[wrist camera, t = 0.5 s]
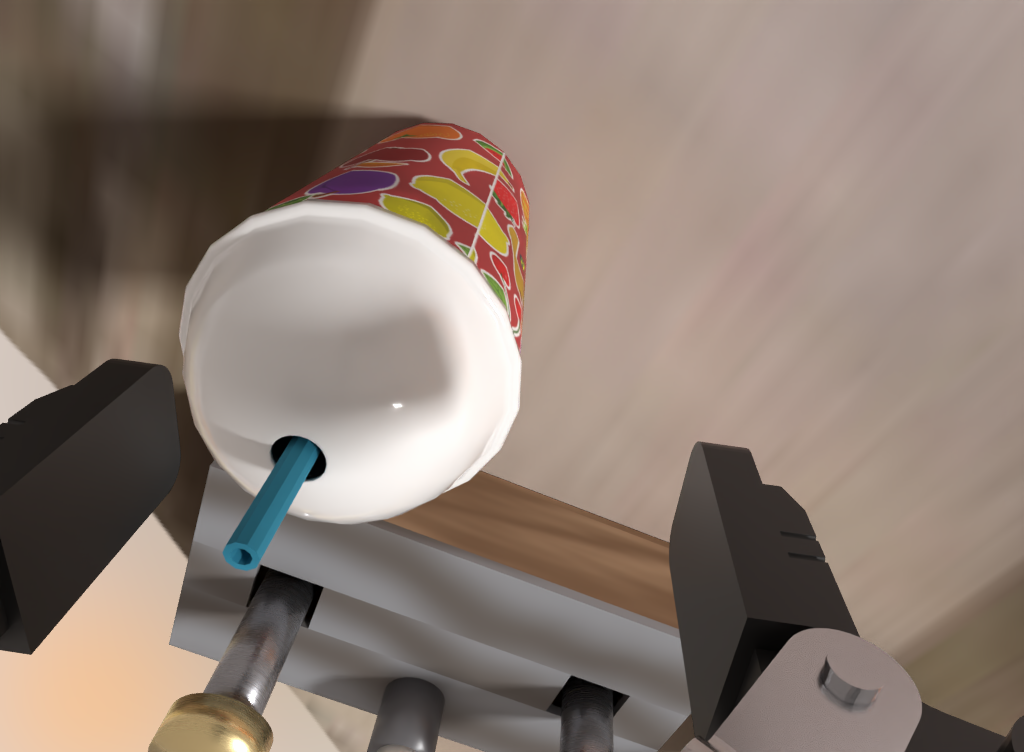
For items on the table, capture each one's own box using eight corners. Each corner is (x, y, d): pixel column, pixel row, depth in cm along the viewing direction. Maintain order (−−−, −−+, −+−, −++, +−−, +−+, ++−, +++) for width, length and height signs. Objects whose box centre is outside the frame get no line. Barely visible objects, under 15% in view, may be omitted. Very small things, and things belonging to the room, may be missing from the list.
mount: (267, 389, 35) (210, 465, 30) (719, 561, 38) (738, 659, 33) (222, 556, 41) (168, 644, 36) (615, 696, 44) (617, 796, 39)
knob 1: (261, 533, 33) (155, 717, 25) (345, 564, 34) (267, 753, 26) (244, 590, 35) (141, 777, 27) (323, 618, 36) (246, 810, 28)
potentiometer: (394, 669, 35) (372, 747, 32) (453, 689, 36) (437, 770, 32) (377, 705, 37) (354, 783, 33) (433, 724, 37) (416, 803, 34)
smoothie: (471, 334, 33) (329, 768, 15) (309, 217, 31) (-62, 566, 13) (595, 187, 29) (591, 545, 12) (419, 43, 27) (99, 218, 10)
